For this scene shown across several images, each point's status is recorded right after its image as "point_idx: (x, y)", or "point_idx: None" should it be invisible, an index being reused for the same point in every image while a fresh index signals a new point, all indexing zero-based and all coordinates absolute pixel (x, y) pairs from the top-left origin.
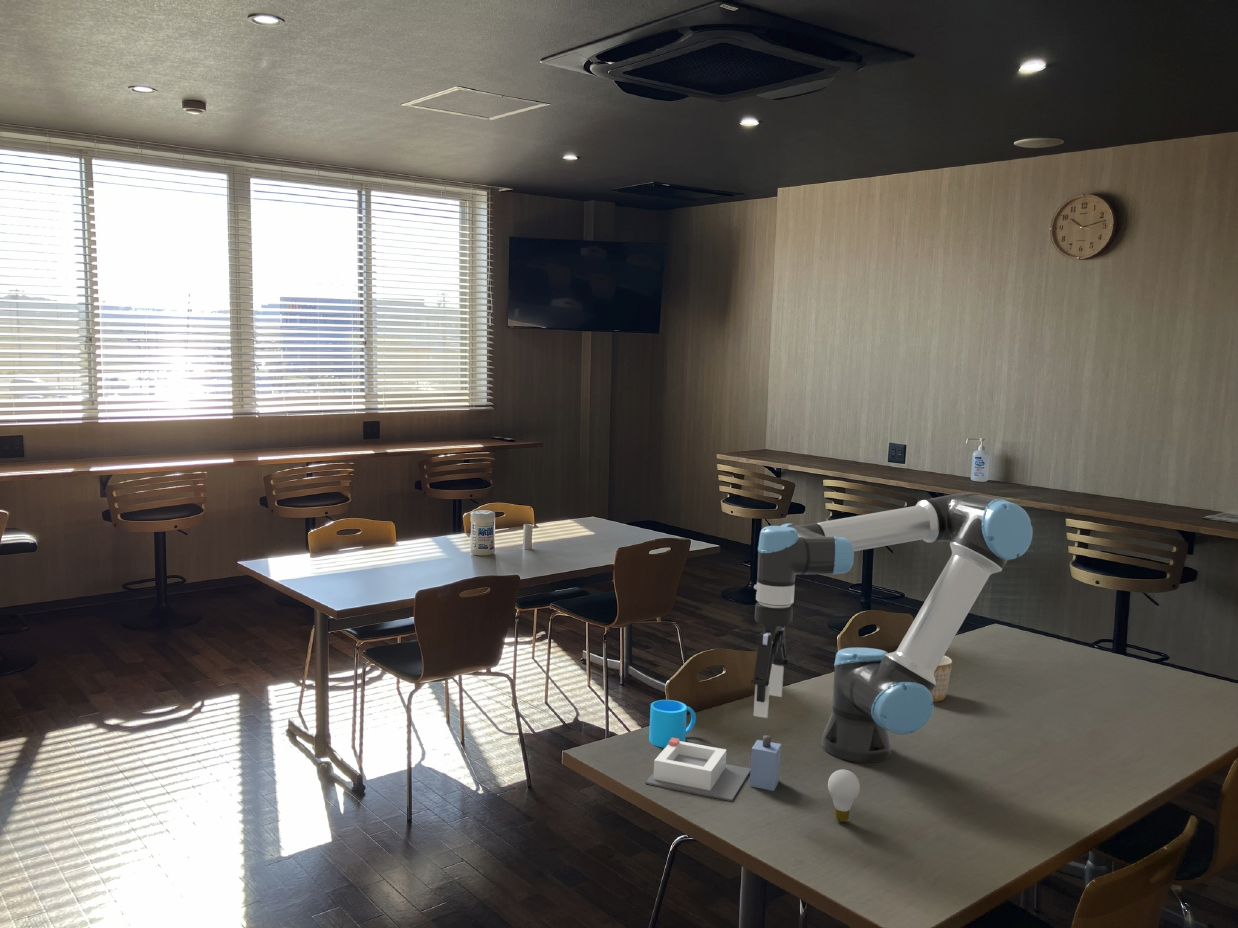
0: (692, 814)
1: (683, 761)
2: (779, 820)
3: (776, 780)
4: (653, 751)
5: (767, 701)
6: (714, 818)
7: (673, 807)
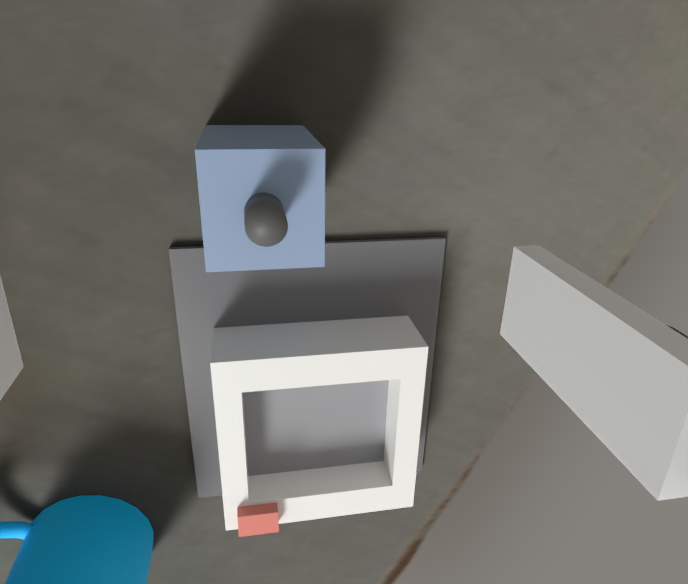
0: None
1: (297, 444)
2: (527, 55)
3: (261, 128)
4: (199, 534)
5: (616, 298)
6: (564, 250)
7: None
